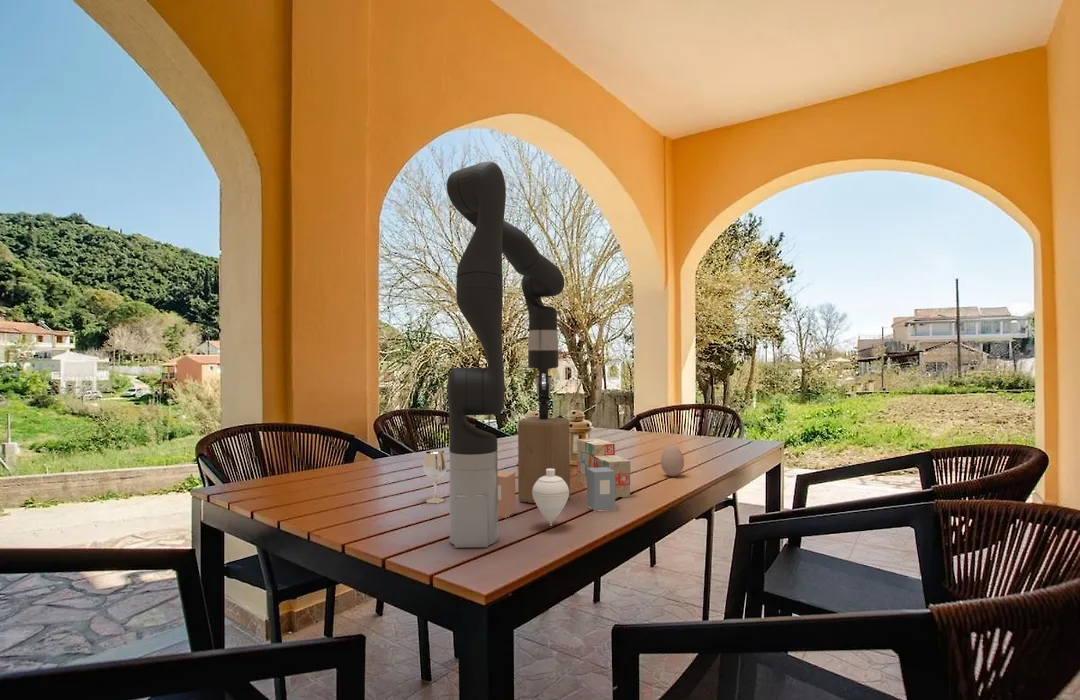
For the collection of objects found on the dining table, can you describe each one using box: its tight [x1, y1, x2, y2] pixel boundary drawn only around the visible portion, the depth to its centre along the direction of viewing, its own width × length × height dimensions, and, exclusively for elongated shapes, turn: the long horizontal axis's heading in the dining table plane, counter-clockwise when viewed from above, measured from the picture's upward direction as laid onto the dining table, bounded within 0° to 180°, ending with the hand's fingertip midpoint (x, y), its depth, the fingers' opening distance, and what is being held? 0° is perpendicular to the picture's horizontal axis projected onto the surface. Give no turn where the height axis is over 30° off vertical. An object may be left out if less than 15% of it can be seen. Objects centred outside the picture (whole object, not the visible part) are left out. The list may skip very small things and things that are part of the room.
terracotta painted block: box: [497, 470, 516, 519], centre depth 125 cm, size 5×5×9 cm
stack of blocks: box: [576, 437, 631, 499], centre depth 148 cm, size 21×6×12 cm, turn 17°
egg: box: [660, 444, 685, 477], centre depth 163 cm, size 7×7×9 cm
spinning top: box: [532, 468, 570, 527], centre depth 115 cm, size 8×8×12 cm
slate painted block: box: [586, 467, 616, 511], centre depth 129 cm, size 5×5×9 cm
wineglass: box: [422, 450, 448, 504], centre depth 137 cm, size 6×6×12 cm
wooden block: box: [517, 416, 571, 504], centre depth 137 cm, size 10×10×20 cm
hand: (543, 418), depth 137 cm, fingers closed
